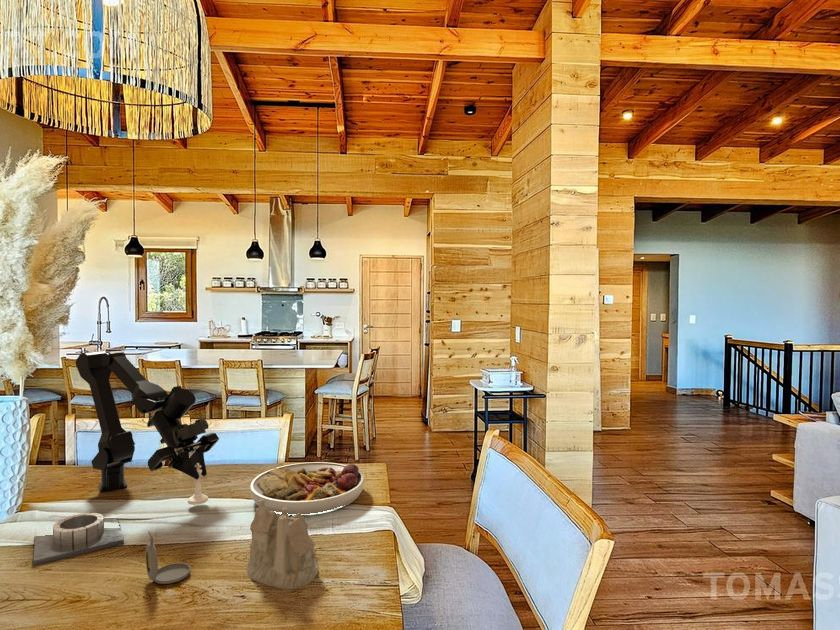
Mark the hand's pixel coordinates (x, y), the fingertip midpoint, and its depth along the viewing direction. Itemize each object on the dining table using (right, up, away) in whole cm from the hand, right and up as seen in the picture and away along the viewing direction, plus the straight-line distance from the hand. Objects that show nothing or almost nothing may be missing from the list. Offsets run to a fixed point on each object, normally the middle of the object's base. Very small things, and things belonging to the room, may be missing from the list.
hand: (201, 476), depth 133 cm
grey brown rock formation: (+29, -10, -27) cm, 41 cm away
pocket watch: (+7, -10, -33) cm, 35 cm away
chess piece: (-1, -7, +1) cm, 7 cm away
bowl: (+26, -8, +8) cm, 28 cm away
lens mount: (-20, -9, -17) cm, 28 cm away
